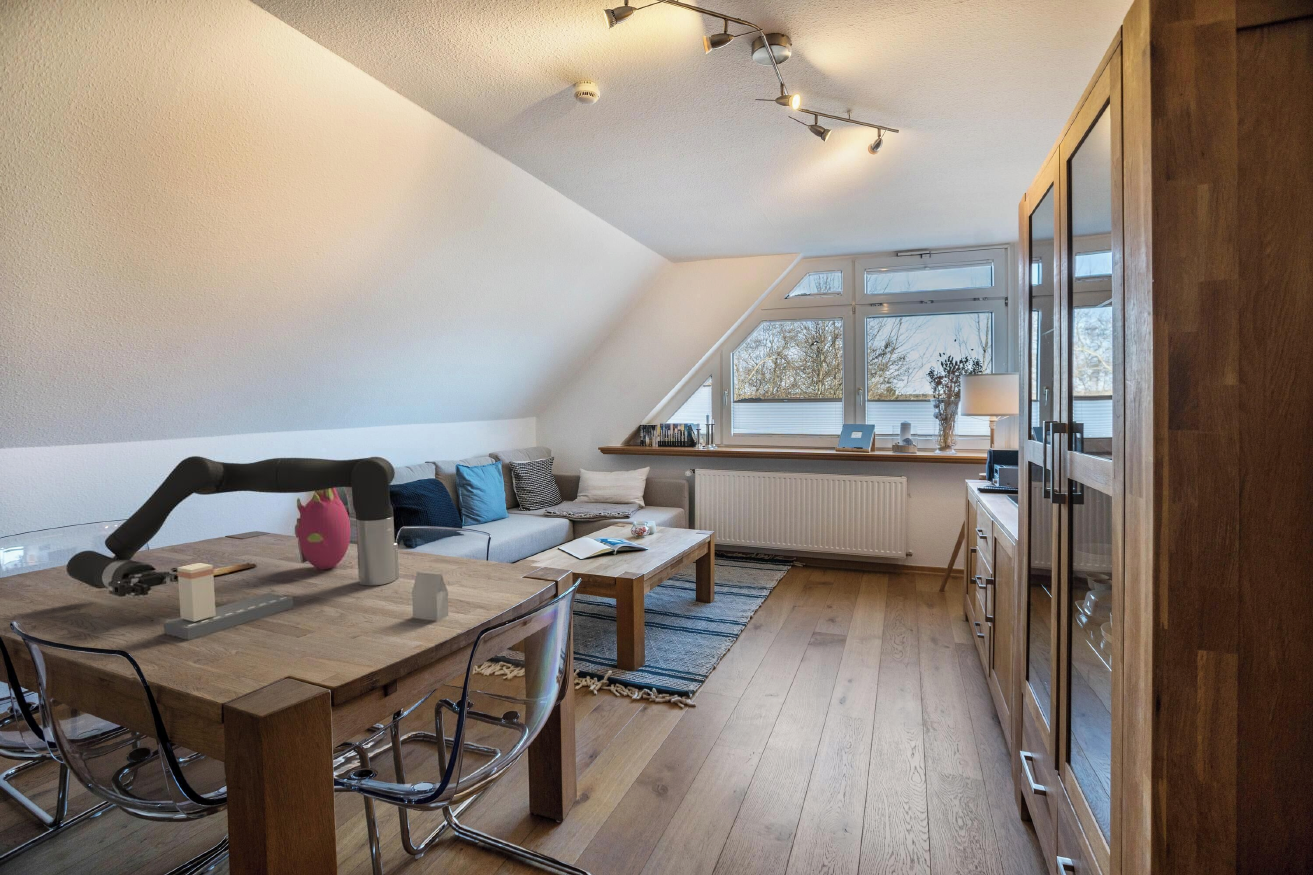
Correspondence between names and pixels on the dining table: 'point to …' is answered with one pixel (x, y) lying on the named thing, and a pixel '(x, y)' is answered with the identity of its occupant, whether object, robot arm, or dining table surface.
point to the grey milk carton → (429, 597)
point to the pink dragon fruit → (323, 529)
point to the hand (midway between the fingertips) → (167, 585)
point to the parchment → (230, 569)
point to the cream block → (196, 591)
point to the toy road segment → (229, 616)
